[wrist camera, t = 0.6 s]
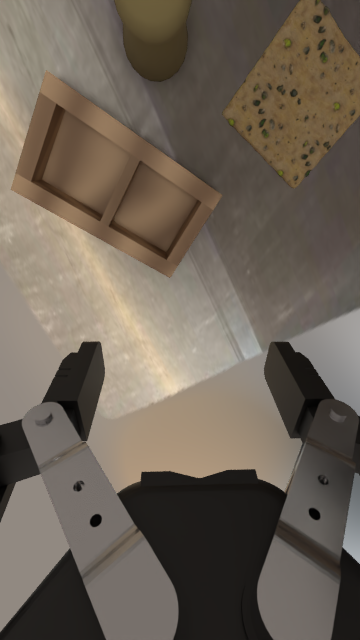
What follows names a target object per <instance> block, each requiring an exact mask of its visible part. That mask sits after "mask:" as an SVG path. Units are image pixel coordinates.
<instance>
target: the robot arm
mask: <svg viewBox="0 0 360 640" xmlns="http://www.w3.org/2000/svg"><path fill="white" fill-rule="evenodd" d="M264 375H265V379H266V382H267V384H268V386H269V389H270V391H271V393H272V396H273V398H274V400H275V403H276V405H277V408H278V410H279V412H280V415H281V417H282V420H283V422H284V424H285V427H286V429H287V431H288V434H289V436H290V438H301V440H302V443H303V444H302V446H301V449H300V451H299V454H298V457H297V460H296V462H295V465H294V468H293V471H292V473H291V476H290V479H289V482H288V484H287V487H286V489H285V492H284V491H282V490H281V489H279V488H278V487H276V486H274V485H272V484H270V483H268V482H266V481H263V480H260V479H258V478H257V474H256V471H255V469H251V470H226V471H223V472H220V473H216V474H213V475H210V476H207V477H203V478H195V477H191V476H187V475H183V474H178V473H175V472H171V471H163V472H142V474H141V481H140V482H137V483H134V484H132V485H130V486H128V487H126V488H125V489H123V490H121V491H120V492H119V493H117V494H116V492H115V490H114V489H113V487H112V485H111V483H110V482H109V480H108V478H107V477H106V475H105V473H104V471H103V470H102V468H101V466H100V465H99V463H98V461H97V460H96V458H95V456H94V455H93V453H92V451H91V450H90V448H89V446H88V445H87V443H86V442H82V441H87V439H88V436H89V432H90V429H91V425H92V421H93V418H94V414H95V411H96V407H97V403H98V400H99V396H100V392H101V389H102V385H103V381H104V376H105V367H104V360H103V354H102V347H101V343H100V342H83V343H82V344H81V347H80V349H79V351H78V353H70V354H69V355H68V356H67V357H66V358H64V359H63V360H62V363H61V365H60V367H59V370H58V371H57V373H56V375H55V377H54V379H53V381H52V383H51V385H50V387H49V389H48V391H47V393H46V395H45V397H44V399H43V401H42V403H41V404H39V405H37V406H35V407H33V408H32V409H30V410H29V411H28V412H27V413H26V414H25V416H24V418H23V419H21V420H18V421H14V422H11V423H7V424H3V425H0V522H1V519H2V517H3V514H4V511H5V509H6V506H7V504H8V501H9V498H10V496H11V494H12V491H13V488H14V486H15V483H16V482H18V481H21V480H23V479H27V478H29V477H32V476H36V475H39V474H41V476H42V478H43V481H44V484H45V486H46V489H47V491H48V494H49V496H50V498H51V501H52V504H53V506H54V508H55V511H56V514H57V516H58V519H59V521H60V524H61V526H62V529H63V531H64V534H65V536H66V539H67V542H68V544H69V547H70V549H69V550H68V551H67V552H66V554H65V555H64V556H63V557H62V558H61V560H60V561H59V562H58V563H57V564H56V566H55V567H54V568H53V569H52V570H51V572H50V573H49V574H48V575H47V576H46V578H45V579H44V580H43V581H42V583H41V584H40V585H39V586H38V587H37V589H36V590H35V591H34V592H33V593H32V595H31V596H30V597H29V598H28V599H27V601H26V602H25V603H24V604H23V605H22V607H21V608H20V609H19V611H18V612H17V613H16V614H15V615H14V617H13V618H12V619H11V620H10V621H9V622H8V624H7V625H6V626H5V627H4V628H3V630H2V631H1V632H0V640H360V564H359V563H358V562H357V561H356V560H355V559H354V558H353V557H352V556H351V555H350V554H349V553H347V551H346V550H345V549H344V548H343V547H342V546H343V539H344V534H345V527H346V521H347V515H348V509H349V503H350V497H351V491H352V485H353V479H354V473H359V475H360V416H358V415H357V414H356V412H355V411H354V410H353V409H352V408H351V407H350V406H348V405H347V404H345V403H343V402H341V401H339V400H335V399H334V397H333V395H332V394H331V392H330V391H329V389H328V388H327V386H326V385H325V383H324V382H323V380H322V379H321V377H320V376H319V375H318V373H317V372H316V370H315V369H314V367H313V365H312V364H311V362H310V361H309V359H308V358H306V357H305V356H304V355H302V354H301V353H300V352H295V351H294V350H293V348H292V346H291V345H290V343H289V342H271V343H270V346H269V350H268V354H267V359H266V362H265V367H264Z"/></svg>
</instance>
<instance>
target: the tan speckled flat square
mask: <svg viewBox="0 0 360 640" xmlns="http://www.w3.org/2000/svg"><path fill="white" fill-rule="evenodd" d="M222 115H223V116H224V117H225V118H226V119H227V120H228V122H229V124H230V125H231V126H232V127H234V128H235V129H236V130H237V132H238V133H239V134H241V136H242V137H243V138H244V139H245V140H247V141H248V142H249V143H250V144H251V145H252V147H253V148H254V149H255V150H256V151H257V152H258V153H259V154H260V155H261V156H262V157H263V158H264V160H265V161H267V163H268V164H269V165H270V166H271V167H273V168H274V169H275V171H276V172H277V173H278V175H279V176H281V177H282V178H283V179H284V180H285V182H287V183H288V185H289V186H290V187H292V188H296V187H297V186H298V185H299V184H300V183H301V181H302V180H303V179H304V178H305V177H307V176H308V175H309V173H310V171H311V170H312V169H313V168H314V167H315V166H316V165H317V164H318V162H319V161H320V160H321V158H322V157H323V156H324V155H325V154H326V153H327V152H328V151H329V150H330V149H331V148H332V146H333V145H334V144H335V143H336V141H337V140H338V139H339V138H340V137H341V136H342V135H343V133H344V132H345V131H346V130H347V129H348V127H349V126H350V125H351V124H352V123H353V122H354V121H355V120H356V119H357V118H358V117H359V116H360V57H359V55H358V54H357V53H356V52H355V50H354V49H353V48H352V46H351V45H350V44H349V43H348V41H347V40H346V39H345V38H344V36H343V34H342V32H341V30H340V28H338V26H337V24H336V22H335V20H334V19H333V18H332V16H331V14H330V10H329V8H328V7H327V6H325V5H324V4H323V3H322V2H321V0H300V1H299V2H298V4H297V5H296V6H295V8H294V9H293V11H292V12H291V13H290V15H289V17H288V18H287V20H286V21H285V23H284V24H283V25H282V26H281V28H280V29H279V30H278V32H277V34H276V35H275V37H274V39H273V40H272V42H271V43H270V45H269V46H268V48H267V49H266V50H265V52H264V53H263V55H262V57H261V58H260V59H259V60H258V62H257V63H256V65H255V66H254V68H253V69H252V71H251V72H250V73H249V74H248V76H247V78H246V80H245V81H244V83H243V84H242V85H241V87H240V88H239V90H238V91H237V92H236V93H235V95H234V97H233V98H232V99H231V101H230V103H229V104H228V106H227V107H226V108H225V109H224V111H223V112H222Z"/></svg>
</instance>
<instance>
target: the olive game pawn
mask: <svg viewBox="0 0 360 640" xmlns="http://www.w3.org/2000/svg"><path fill="white" fill-rule="evenodd" d="M114 1H115V5H116V8H117V12H118V14H119V16H120V18H121V20H122V22H123V42H124V47H125V51H126V55H127V58H128V59H129V61H130V63H131V65H132V67H133V68H134V69H135V70H136V71H137V72H138V73H139V74H140V75H141V76H142V77H144V78H146V79H148V80H150V81H159V82H161V81H163V80H166V79H169V78H171V77H172V76H173V75H174V74H175V73H176V72H178V70H179V68H180V67H181V65H182V63H183V62H184V59H185V55H186V52H187V42H188V33H187V26H186V20H187V17H188V13H189V10H190V6H191V2H192V0H114Z"/></svg>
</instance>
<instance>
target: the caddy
mask: <svg viewBox="0 0 360 640" xmlns="http://www.w3.org/2000/svg"><path fill="white" fill-rule="evenodd" d="M11 190H13V191H14V192H16V193H18V194H20V195H22V196H23V197H25V198H27V199H29V200H31V201H32V202H34V203H36V204H38V205H40V206H41V207H43V208H45V209H47V210H49V211H50V212H52V213H54V214H56V215H58V216H59V217H61V218H63V219H65V220H67V221H68V222H70V223H72V224H74V225H76V226H77V227H79V228H81V229H83V230H85V231H86V232H88V233H90V234H92V235H94V236H95V237H97V238H99V239H101V240H103V241H104V242H106V243H108V244H110V245H112V246H113V247H115V248H117V249H119V250H121V251H122V252H124V253H126V254H128V255H130V256H131V257H133V258H135V259H137V260H139V261H140V262H142V263H144V264H146V265H148V266H150V267H151V268H153V269H155V270H157V271H159V272H160V273H162V274H164V275H166V276H168V277H169V278H170V277H171V276H172V274H173V272H174V271H175V269H176V268H177V266H178V265H179V263H180V261H181V260H182V258H183V257H184V255H185V254H186V252H187V250H188V249H189V247H190V246H191V244H192V243H193V241H194V239H195V238H196V236H197V235H198V233H199V231H200V230H201V228H202V227H203V225H204V224H205V222H206V220H207V219H208V217H209V216H210V214H211V213H212V211H213V209H214V208H215V206H216V205H217V203H218V202H219V200H220V198H221V197H222V195H221V194H220V193H219V192H217V191H216V190H214V189H213V188H212V187H210V186H209V185H207V184H206V183H204V182H203V181H202V180H200V179H199V178H197V177H196V176H195V175H193V174H192V173H190V172H189V171H188V170H186V169H185V168H183V167H182V166H181V165H179V164H178V163H176V162H175V161H173V160H172V159H171V158H169V157H168V156H166V155H165V154H164V153H162V152H161V151H159V150H158V149H157V148H155V147H154V146H152V145H151V144H150V143H148V142H147V141H145V140H144V139H143V138H141V137H140V136H138V135H137V134H135V133H134V132H133V131H131V130H130V129H128V128H127V127H126V126H124V125H123V124H121V123H120V122H119V121H117V120H116V119H114V118H113V117H112V116H110V115H109V114H107V113H106V112H105V111H103V110H102V109H100V108H99V107H97V106H96V105H95V104H93V103H92V102H90V101H89V100H88V99H86V98H85V97H83V96H82V95H81V94H79V93H78V92H76V91H75V90H74V89H72V88H71V87H69V86H68V85H66V84H65V83H64V82H62V81H61V80H59V79H58V78H57V77H55V76H54V75H52V74H51V73H50V72H48V71H47V70H46V72H45V76H44V79H43V82H42V86H41V89H40V92H39V96H38V99H37V103H36V106H35V109H34V113H33V116H32V119H31V123H30V126H29V130H28V133H27V136H26V140H25V143H24V146H23V150H22V153H21V157H20V160H19V163H18V167H17V170H16V174H15V177H14V180H13V184H12V187H11Z"/></svg>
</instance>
